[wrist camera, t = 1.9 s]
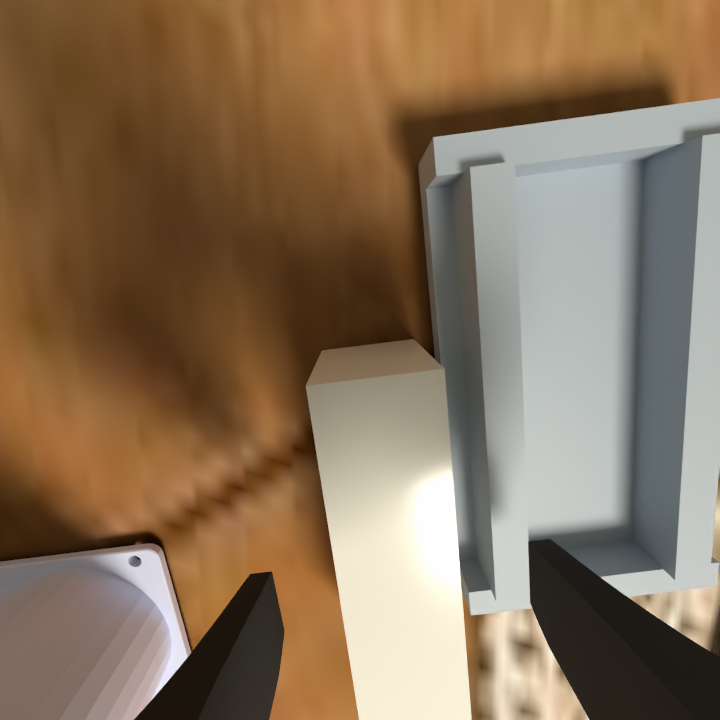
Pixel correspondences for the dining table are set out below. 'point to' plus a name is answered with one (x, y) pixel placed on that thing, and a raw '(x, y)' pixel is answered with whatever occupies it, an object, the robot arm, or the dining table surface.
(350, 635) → the clay bar
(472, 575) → the tray
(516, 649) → the dining table surface
